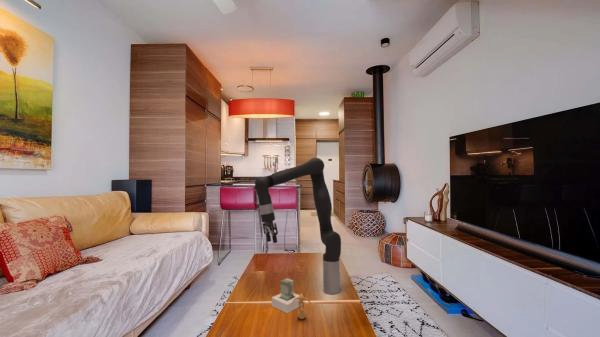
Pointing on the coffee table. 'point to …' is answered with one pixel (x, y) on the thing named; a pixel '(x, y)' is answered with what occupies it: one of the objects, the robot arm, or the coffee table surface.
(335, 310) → the coffee table surface
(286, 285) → the green metallic peg
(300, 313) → the figurine
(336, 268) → the robot arm
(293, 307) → the white well block
